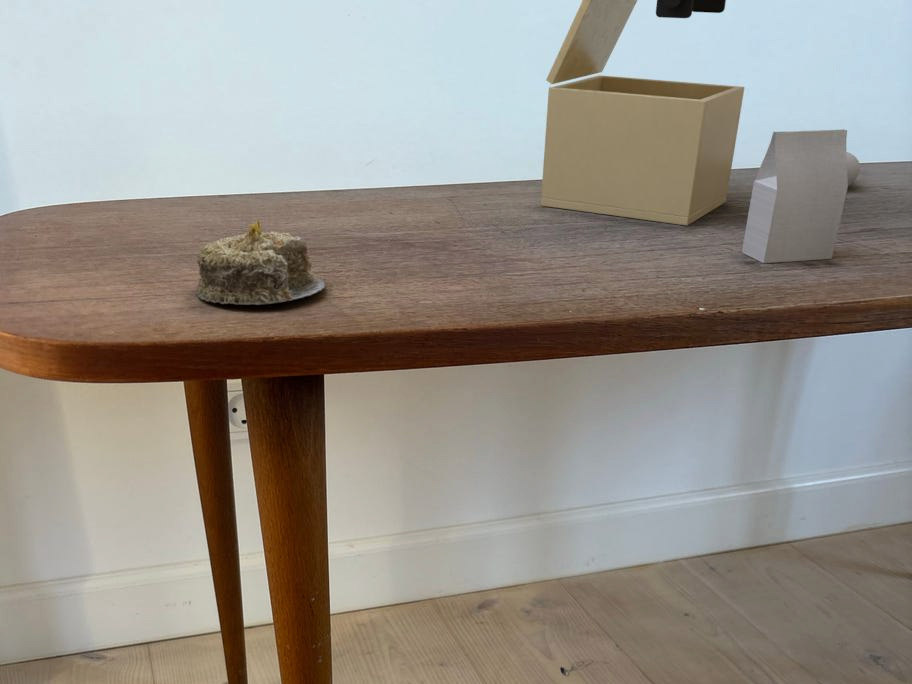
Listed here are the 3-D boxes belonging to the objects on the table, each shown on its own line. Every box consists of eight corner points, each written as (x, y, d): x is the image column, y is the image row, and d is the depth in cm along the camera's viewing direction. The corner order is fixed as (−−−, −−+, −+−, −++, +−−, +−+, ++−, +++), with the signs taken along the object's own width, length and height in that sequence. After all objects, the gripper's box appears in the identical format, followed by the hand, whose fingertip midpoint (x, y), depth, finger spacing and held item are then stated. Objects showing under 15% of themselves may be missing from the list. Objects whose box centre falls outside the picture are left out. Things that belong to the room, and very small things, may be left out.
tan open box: (726, 202, 110) (744, 86, 104) (687, 225, 101) (705, 101, 95) (588, 184, 117) (598, 75, 111) (540, 205, 108) (548, 87, 102)
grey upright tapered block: (831, 258, 92) (859, 133, 86) (763, 263, 90) (787, 136, 85) (808, 248, 95) (833, 126, 89) (741, 252, 93) (763, 128, 88)
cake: (183, 317, 78) (168, 241, 75) (213, 281, 86) (200, 211, 83) (316, 309, 77) (306, 232, 74) (333, 274, 85) (325, 203, 82)
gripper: (733, -237, 81) (700, 21, 90) (790, -213, 93) (756, 11, 103) (640, -231, 84) (618, 18, 93) (708, -209, 96) (682, 9, 106)
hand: (690, 14), depth 98 cm, fingers open, 9 cm apart
